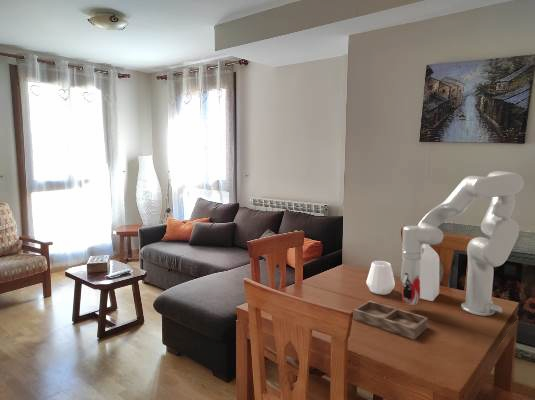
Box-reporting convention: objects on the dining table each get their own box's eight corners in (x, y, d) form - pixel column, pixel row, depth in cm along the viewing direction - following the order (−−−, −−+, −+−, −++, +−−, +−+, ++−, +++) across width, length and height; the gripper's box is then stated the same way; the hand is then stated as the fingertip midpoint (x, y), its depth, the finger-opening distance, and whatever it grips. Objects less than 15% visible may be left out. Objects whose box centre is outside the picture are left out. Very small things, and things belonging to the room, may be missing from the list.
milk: (432, 301, 173) (435, 245, 170) (406, 295, 180) (409, 241, 177) (439, 293, 183) (442, 240, 179) (414, 288, 189) (417, 237, 186)
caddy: (427, 327, 147) (428, 317, 147) (414, 339, 138) (414, 329, 137) (368, 309, 164) (369, 300, 164) (353, 318, 155) (353, 309, 154)
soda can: (421, 306, 159) (421, 278, 158) (403, 305, 161) (403, 278, 159) (418, 299, 166) (418, 273, 165) (401, 299, 168) (401, 272, 166)
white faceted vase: (390, 298, 176) (392, 269, 175) (362, 292, 183) (363, 264, 182) (397, 289, 188) (398, 262, 186) (370, 284, 195) (371, 258, 193)
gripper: (411, 249, 170) (410, 287, 172) (394, 258, 157) (393, 299, 159) (428, 252, 165) (427, 291, 167) (412, 261, 152) (411, 303, 154)
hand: (411, 295), depth 163 cm, fingers closed on soda can, 7 cm apart
